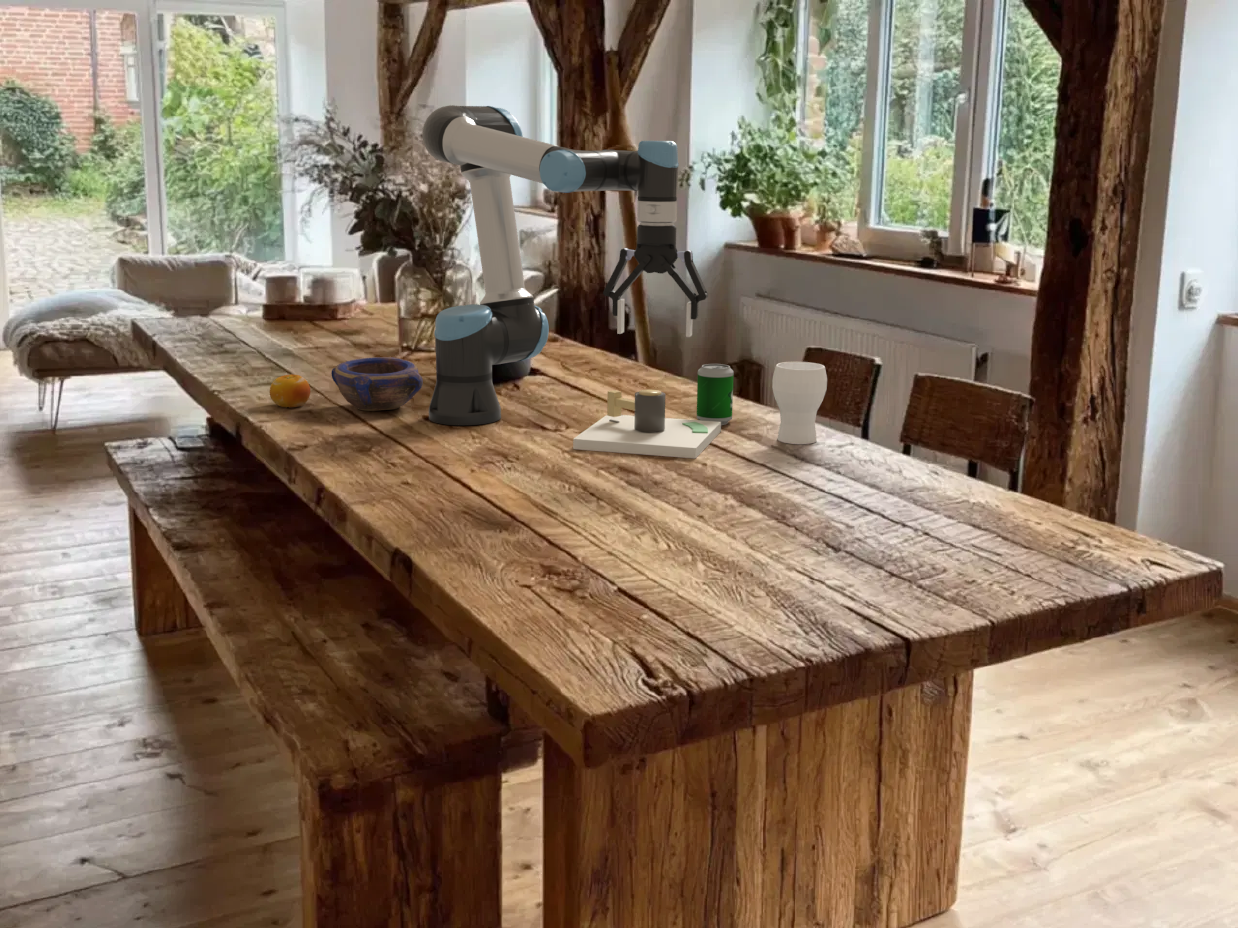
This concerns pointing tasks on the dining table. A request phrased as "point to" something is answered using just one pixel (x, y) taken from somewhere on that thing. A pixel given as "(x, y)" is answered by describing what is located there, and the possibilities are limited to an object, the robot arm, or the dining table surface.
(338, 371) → the bowl
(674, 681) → the dining table surface
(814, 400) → the cup
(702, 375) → the soda can
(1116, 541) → the dining table surface
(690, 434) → the dial plate
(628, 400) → the grey cylinder with handle
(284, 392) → the fruit
